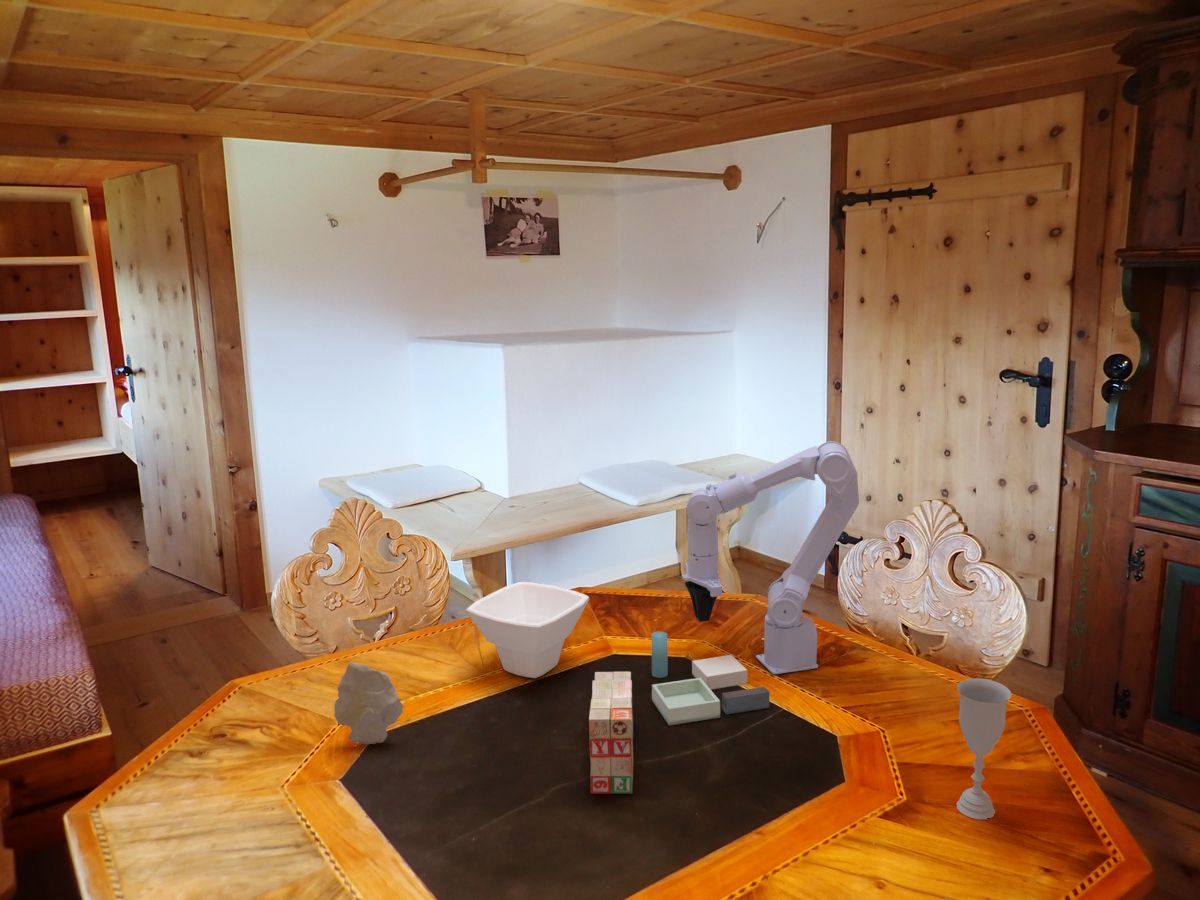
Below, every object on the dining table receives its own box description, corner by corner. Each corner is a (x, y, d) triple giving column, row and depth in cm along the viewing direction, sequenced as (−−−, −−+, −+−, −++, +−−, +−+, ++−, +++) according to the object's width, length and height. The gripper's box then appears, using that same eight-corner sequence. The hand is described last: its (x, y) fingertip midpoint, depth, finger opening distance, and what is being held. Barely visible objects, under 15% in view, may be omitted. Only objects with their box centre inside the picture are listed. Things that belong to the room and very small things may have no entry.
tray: (700, 693, 160) (700, 677, 160) (720, 717, 152) (720, 701, 151) (652, 700, 158) (651, 684, 158) (669, 725, 149) (668, 709, 149)
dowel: (664, 669, 170) (664, 630, 168) (669, 676, 167) (669, 636, 166) (649, 671, 169) (649, 632, 168) (654, 678, 166) (654, 638, 165)
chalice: (997, 830, 120) (1007, 707, 117) (944, 814, 124) (952, 695, 120) (1005, 802, 126) (1014, 685, 123) (955, 788, 130) (962, 674, 126)
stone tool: (407, 736, 148) (401, 652, 145) (404, 747, 144) (398, 662, 141) (340, 740, 147) (332, 656, 144) (335, 752, 144) (327, 666, 140)
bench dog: (764, 702, 156) (764, 686, 156) (769, 707, 155) (769, 691, 154) (721, 709, 155) (721, 693, 154) (726, 714, 153) (726, 698, 152)
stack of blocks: (596, 721, 152) (594, 654, 149) (633, 721, 151) (631, 654, 149) (590, 795, 131) (588, 718, 128) (633, 795, 130) (631, 718, 128)
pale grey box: (730, 669, 170) (730, 654, 170) (747, 685, 164) (747, 670, 163) (692, 675, 168) (692, 660, 168) (707, 692, 162) (707, 676, 161)
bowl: (599, 661, 174) (597, 594, 171) (540, 703, 158) (537, 629, 155) (523, 642, 184) (520, 578, 181) (460, 679, 168) (456, 609, 165)
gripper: (670, 543, 175) (670, 608, 178) (696, 566, 162) (696, 636, 164) (703, 539, 177) (703, 603, 180) (732, 562, 163) (732, 631, 166)
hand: (702, 619), depth 172 cm, fingers closed
